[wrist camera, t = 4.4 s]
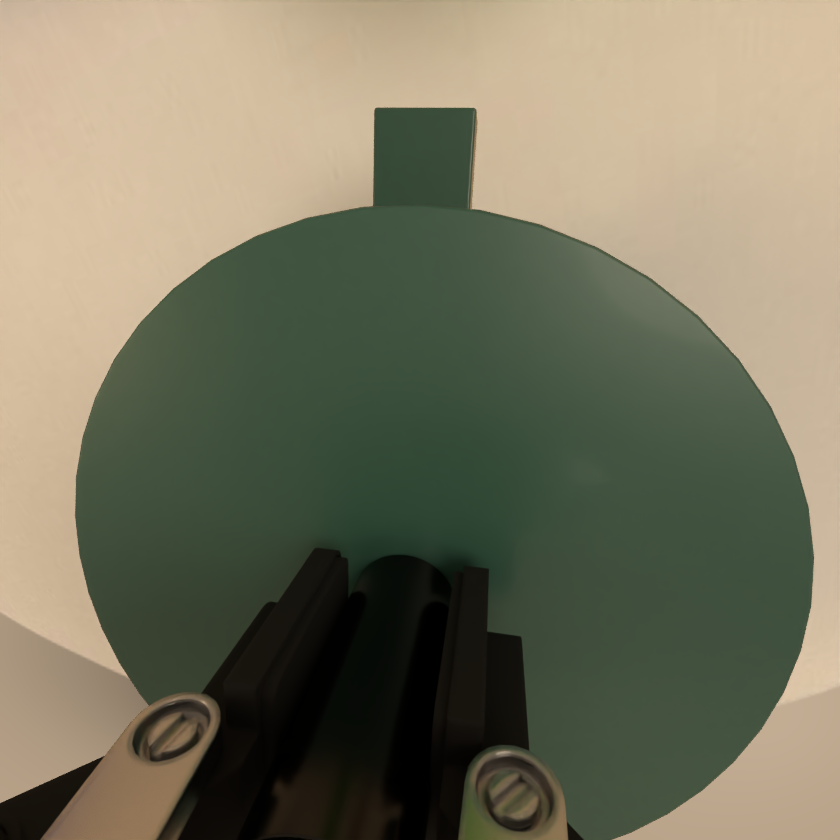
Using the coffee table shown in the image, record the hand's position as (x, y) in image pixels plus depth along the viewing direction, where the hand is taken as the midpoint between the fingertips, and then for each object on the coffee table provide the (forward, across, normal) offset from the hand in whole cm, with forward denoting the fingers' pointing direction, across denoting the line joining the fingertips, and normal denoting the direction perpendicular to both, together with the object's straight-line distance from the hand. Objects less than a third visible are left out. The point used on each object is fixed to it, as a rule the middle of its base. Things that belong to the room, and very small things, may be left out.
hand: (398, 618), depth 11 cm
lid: (+1, 0, 0) cm, 1 cm away
